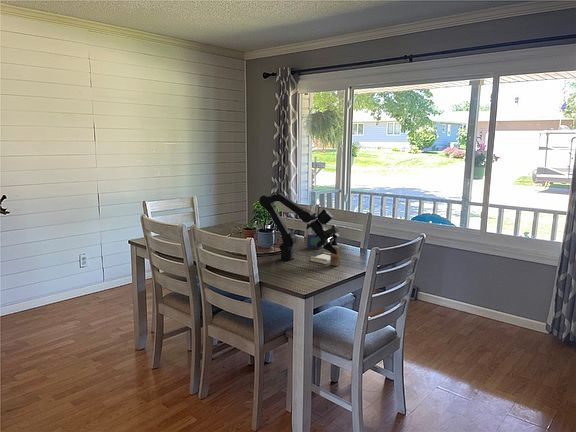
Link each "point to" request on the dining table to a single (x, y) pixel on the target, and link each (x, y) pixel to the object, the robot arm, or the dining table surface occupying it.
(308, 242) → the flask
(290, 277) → the dining table surface
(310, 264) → the dining table surface
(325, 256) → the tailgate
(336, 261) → the walnut block
